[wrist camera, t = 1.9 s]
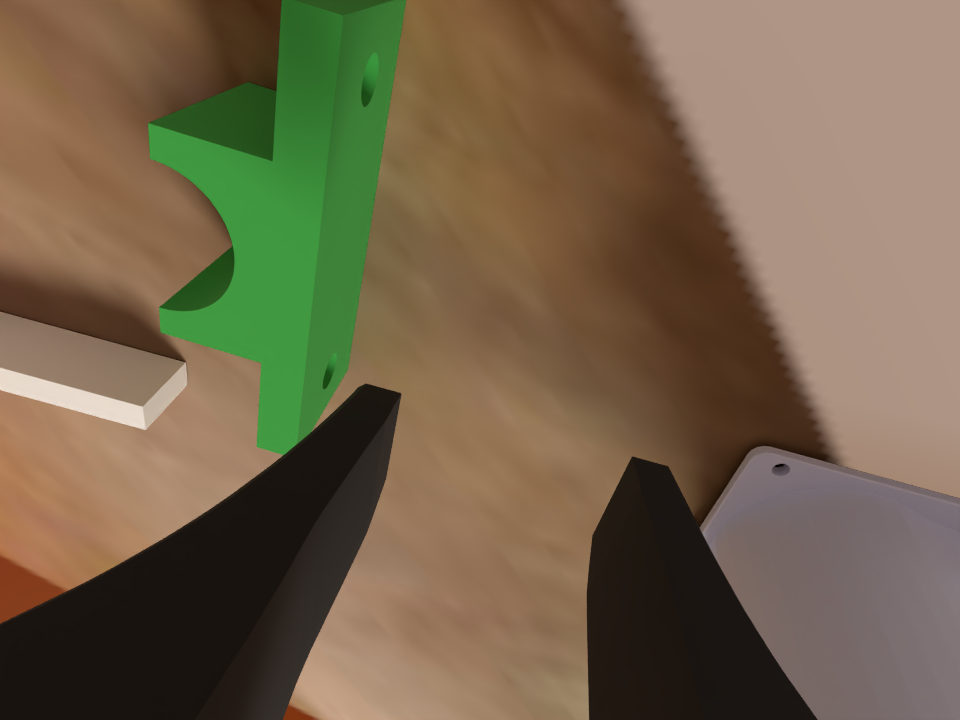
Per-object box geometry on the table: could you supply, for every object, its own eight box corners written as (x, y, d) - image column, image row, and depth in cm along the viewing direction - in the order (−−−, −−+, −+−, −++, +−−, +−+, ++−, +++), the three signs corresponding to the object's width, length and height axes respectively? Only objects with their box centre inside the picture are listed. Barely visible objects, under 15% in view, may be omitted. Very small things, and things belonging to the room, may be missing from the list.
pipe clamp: (255, -53, 15) (136, -52, 11) (410, -6, 15) (344, 12, 11) (241, 336, 21) (162, 422, 17) (349, 368, 21) (294, 461, 17)
